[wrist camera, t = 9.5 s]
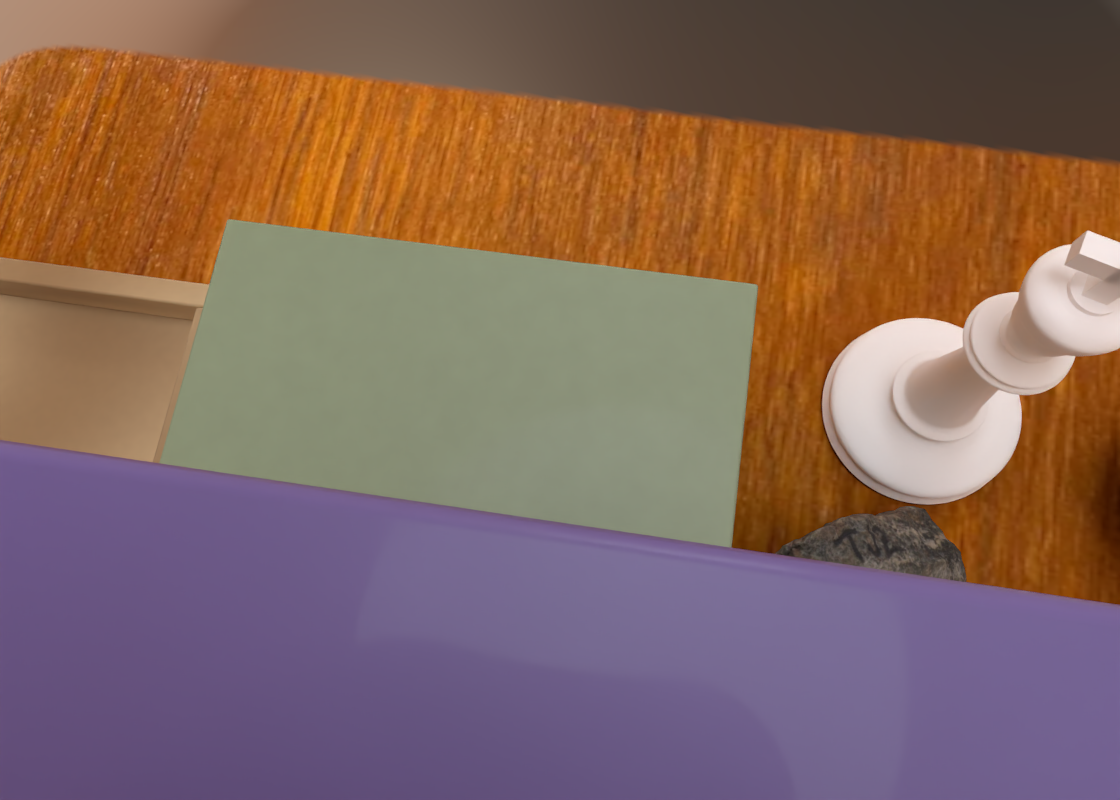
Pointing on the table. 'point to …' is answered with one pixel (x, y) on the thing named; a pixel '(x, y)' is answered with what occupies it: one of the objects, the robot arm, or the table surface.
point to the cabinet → (471, 380)
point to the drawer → (92, 357)
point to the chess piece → (968, 377)
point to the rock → (884, 544)
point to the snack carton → (504, 657)
